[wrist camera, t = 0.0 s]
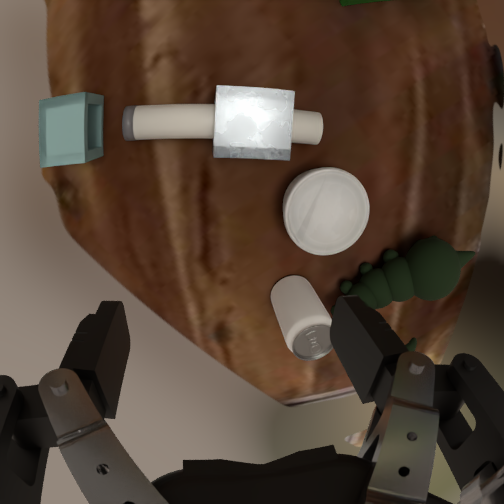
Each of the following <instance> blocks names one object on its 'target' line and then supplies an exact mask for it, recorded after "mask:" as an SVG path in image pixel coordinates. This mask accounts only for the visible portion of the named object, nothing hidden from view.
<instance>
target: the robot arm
mask: <svg viewBox="0 0 504 504" xmlns="http://www.w3.org/2000/svg"><path fill="white" fill-rule="evenodd" d="M330 341H331V344H332V346H333V348H334V349H335V351H336V353H337V355H338V357H339V359H340V361H341V363H342V365H343V367H344V368H345V370H346V372H347V374H348V376H349V378H350V380H351V382H352V384H353V386H354V388H355V390H356V392H357V394H358V395H359V397H360V399H361V401H362V403H363V404H364V403H369V402H373V401H375V403H376V407H375V409H374V411H373V414H372V417H371V420H370V424H369V427H368V429H367V432H366V435H365V438H364V441H363V444H362V447H361V449H360V451H359V454H358V455H357V456H352V455H346V454H337V453H336V451H335V448H334V445H330V446H325V447H320V448H315V449H310V450H304V451H298V452H296V453H293V454H291V455H288V456H285V457H283V458H280V459H277V460H275V461H272V462H269V463H266V464H251V463H243V462H236V461H228V460H222V459H216V460H183V469H182V470H178V471H174V472H171V473H168V474H166V475H163V476H161V477H159V478H157V479H156V480H154V481H152V482H150V481H149V480H148V479H147V478H146V476H145V475H144V474H143V473H142V471H141V470H140V469H139V468H138V466H137V465H136V464H135V462H134V461H133V460H132V458H131V457H130V456H129V454H128V453H127V452H126V450H125V449H124V447H123V446H122V445H121V443H120V442H119V440H118V439H117V437H116V436H115V434H114V433H113V431H112V430H111V428H110V427H109V425H108V424H107V422H106V421H105V420H104V418H110V419H115V415H116V411H117V406H118V401H119V396H120V391H121V386H122V382H123V377H124V373H125V369H126V364H127V360H128V356H129V352H130V335H129V330H128V325H127V321H126V315H125V310H124V305H123V303H122V302H121V301H102V302H101V303H100V306H99V308H98V310H97V312H96V314H89V315H88V316H86V318H84V319H83V320H82V321H81V322H80V324H79V326H78V328H77V330H76V333H75V334H74V336H73V338H72V341H71V342H70V344H69V347H68V349H67V351H66V354H65V356H64V358H63V360H62V362H61V365H60V367H59V369H55V370H52V371H50V372H48V373H46V374H45V375H44V376H43V377H42V378H41V380H40V382H39V384H38V385H32V386H24V387H17V385H16V383H15V381H14V380H13V379H12V378H11V377H9V376H6V375H0V504H40V502H41V493H42V487H43V481H44V475H45V468H46V463H47V458H48V453H49V448H50V447H59V449H60V451H61V454H62V456H63V458H64V460H65V462H66V464H67V466H68V467H69V469H70V471H71V473H72V475H73V477H74V479H75V480H76V482H77V484H78V486H79V487H80V489H81V491H82V492H83V494H84V496H85V498H86V499H87V501H88V502H89V504H453V503H451V502H448V501H446V500H444V499H442V498H440V497H437V496H435V495H433V494H431V493H429V492H428V489H429V484H430V479H431V474H432V469H433V462H434V456H435V450H436V442H437V443H438V445H439V447H440V449H441V451H442V453H443V455H444V457H445V459H446V461H447V463H448V465H449V467H450V469H451V471H452V473H453V475H454V477H455V479H456V481H457V483H458V485H459V487H460V489H461V494H460V501H459V502H458V503H457V504H504V391H503V390H502V389H501V387H500V386H499V385H498V383H497V382H496V381H495V379H494V378H493V377H492V376H491V375H490V373H489V372H488V371H487V369H486V368H485V367H484V366H483V364H482V363H481V362H480V361H479V360H478V359H477V358H475V357H474V356H472V355H469V354H465V353H461V354H457V355H456V356H455V357H454V358H453V360H452V362H451V364H450V365H436V364H434V363H433V361H432V360H431V359H430V358H429V357H428V356H426V355H425V354H422V353H420V352H416V351H409V350H408V348H407V347H406V346H405V345H404V343H403V342H402V341H401V339H400V338H399V337H398V336H397V334H396V333H395V332H394V331H393V330H392V329H391V327H390V325H389V324H388V323H386V320H385V319H384V318H383V317H382V315H381V314H380V313H379V312H377V311H376V310H374V309H373V308H371V307H367V306H366V305H365V303H364V302H363V301H362V300H361V298H360V297H359V296H358V295H352V296H339V297H338V298H337V300H336V304H335V309H334V313H333V318H332V322H331V326H330ZM464 403H466V405H467V407H468V408H469V410H470V411H471V413H472V414H473V416H474V417H475V420H476V427H475V430H474V431H472V429H471V428H470V426H469V425H468V423H467V421H466V420H465V418H464V416H463V415H462V413H461V412H460V409H461V407H462V406H463V404H464Z"/></svg>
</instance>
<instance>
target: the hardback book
mask: <svg viewBox="0 0 504 504" xmlns="http://www.w3.org/2000/svg"><path fill="white" fill-rule="evenodd" d="M378 1H390V0H340V1H339V2H340V3H341V5H342V6H347V5H354V4H361V3H369V2H378Z"/></svg>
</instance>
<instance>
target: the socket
mask: <svg viewBox="0 0 504 504" xmlns="http://www.w3.org/2000/svg"><path fill="white" fill-rule="evenodd" d="M103 105H104V96H103V95H98V94H93V93H88V92H82V93H75V94H69V95H64V96H58V97H53V98H48V99H44V100H40V101H39V154H40V167H50V166H59V165H68V164H79V163H86V162H88V161H91V160H93V159H96V158H99V157H101V156H103Z"/></svg>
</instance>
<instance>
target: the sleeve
mask: <svg viewBox="0 0 504 504" xmlns="http://www.w3.org/2000/svg"><path fill="white" fill-rule="evenodd" d="M294 96H295V91H289V90H280V89H270V88H258V87H244V86H223V85H217V87H216V91H215V104H216V106H215V126H214V139H213V147H212V153H213V157H214V158H251V159H272V160H289V161H290V150H291V138H292V124H293V111H294Z"/></svg>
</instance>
